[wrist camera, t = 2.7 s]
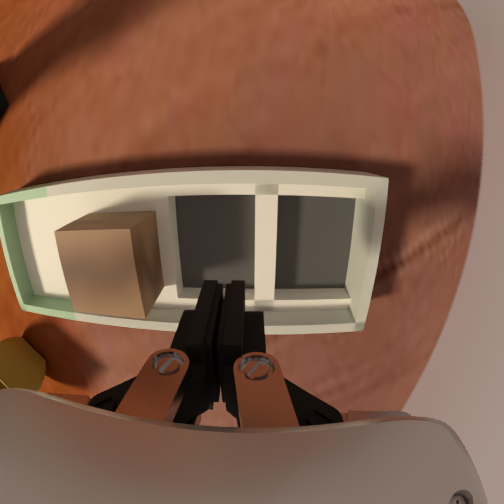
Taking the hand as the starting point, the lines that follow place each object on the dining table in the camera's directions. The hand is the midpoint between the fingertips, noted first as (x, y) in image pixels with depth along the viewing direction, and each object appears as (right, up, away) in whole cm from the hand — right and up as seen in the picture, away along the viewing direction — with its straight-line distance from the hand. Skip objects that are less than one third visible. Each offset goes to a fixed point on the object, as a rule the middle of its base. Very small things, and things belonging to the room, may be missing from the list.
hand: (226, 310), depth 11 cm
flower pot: (-31, -12, +17) cm, 37 cm away
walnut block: (-9, +3, +8) cm, 12 cm away
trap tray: (-6, +3, +10) cm, 12 cm away
